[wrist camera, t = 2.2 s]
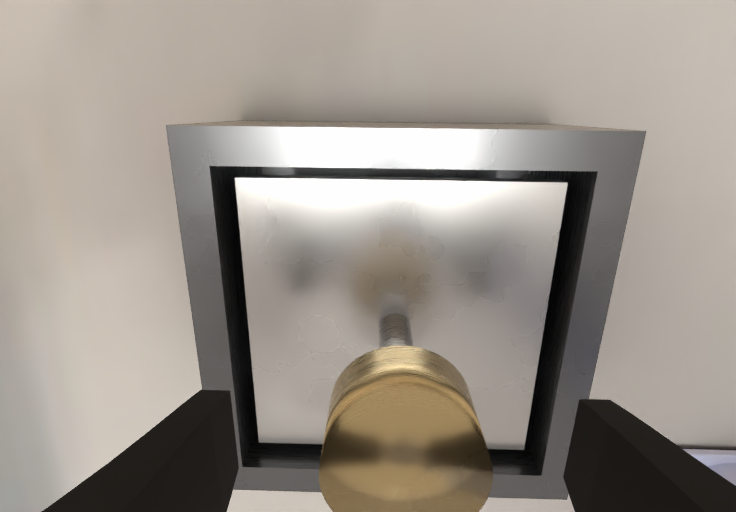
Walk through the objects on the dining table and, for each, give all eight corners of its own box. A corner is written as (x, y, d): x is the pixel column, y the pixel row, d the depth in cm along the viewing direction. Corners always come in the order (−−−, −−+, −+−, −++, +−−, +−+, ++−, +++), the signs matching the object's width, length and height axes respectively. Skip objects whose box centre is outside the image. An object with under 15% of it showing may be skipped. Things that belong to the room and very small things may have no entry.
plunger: (559, 179, 12) (732, 244, 6) (518, 437, 15) (608, 649, 9) (241, 174, 12) (112, 233, 6) (263, 430, 15) (189, 633, 9)
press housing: (552, 124, 16) (646, 130, 10) (513, 389, 20) (566, 499, 14) (240, 120, 16) (166, 125, 11) (261, 383, 20) (215, 488, 15)
